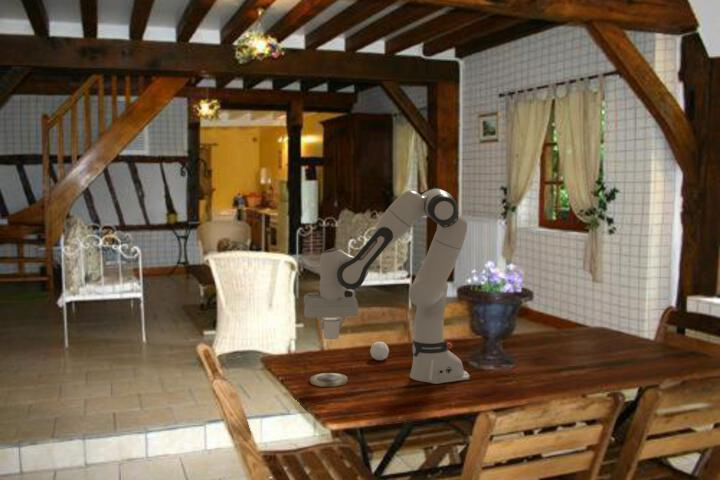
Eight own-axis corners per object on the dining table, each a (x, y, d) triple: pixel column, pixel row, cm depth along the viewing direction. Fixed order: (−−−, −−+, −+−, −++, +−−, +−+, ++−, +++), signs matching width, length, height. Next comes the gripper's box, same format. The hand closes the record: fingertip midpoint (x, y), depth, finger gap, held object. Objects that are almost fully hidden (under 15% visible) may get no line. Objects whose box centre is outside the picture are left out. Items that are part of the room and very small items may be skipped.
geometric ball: (376, 367, 297) (365, 353, 295) (378, 355, 304) (368, 342, 302) (391, 359, 294) (380, 345, 292) (393, 348, 301) (382, 334, 299)
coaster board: (343, 375, 276) (343, 371, 276) (350, 385, 262) (350, 382, 262) (307, 377, 273) (307, 374, 273) (313, 388, 260) (313, 384, 259)
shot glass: (337, 340, 265) (337, 321, 265) (319, 339, 267) (319, 320, 266) (342, 336, 272) (342, 317, 271) (325, 334, 274) (325, 316, 273)
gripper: (304, 294, 263) (304, 331, 264) (359, 292, 267) (359, 329, 268) (302, 291, 269) (302, 327, 270) (356, 289, 273) (356, 325, 274)
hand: (331, 328), depth 269 cm, fingers closed on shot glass, 5 cm apart
